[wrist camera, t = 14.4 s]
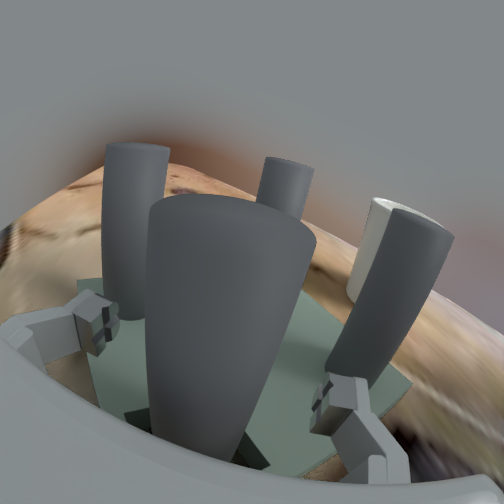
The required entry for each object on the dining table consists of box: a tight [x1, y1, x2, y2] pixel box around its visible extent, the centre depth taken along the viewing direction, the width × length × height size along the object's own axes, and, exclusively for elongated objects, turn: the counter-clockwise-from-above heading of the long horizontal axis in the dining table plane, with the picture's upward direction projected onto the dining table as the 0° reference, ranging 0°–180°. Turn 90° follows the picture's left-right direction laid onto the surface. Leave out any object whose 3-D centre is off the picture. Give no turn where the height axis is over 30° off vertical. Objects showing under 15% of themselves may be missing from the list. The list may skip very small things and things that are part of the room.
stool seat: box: [77, 142, 454, 478], centre depth 17 cm, size 20×20×14 cm
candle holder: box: [346, 198, 445, 304], centre depth 32 cm, size 10×10×12 cm
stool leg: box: [145, 194, 317, 463], centre depth 10 cm, size 4×4×14 cm
